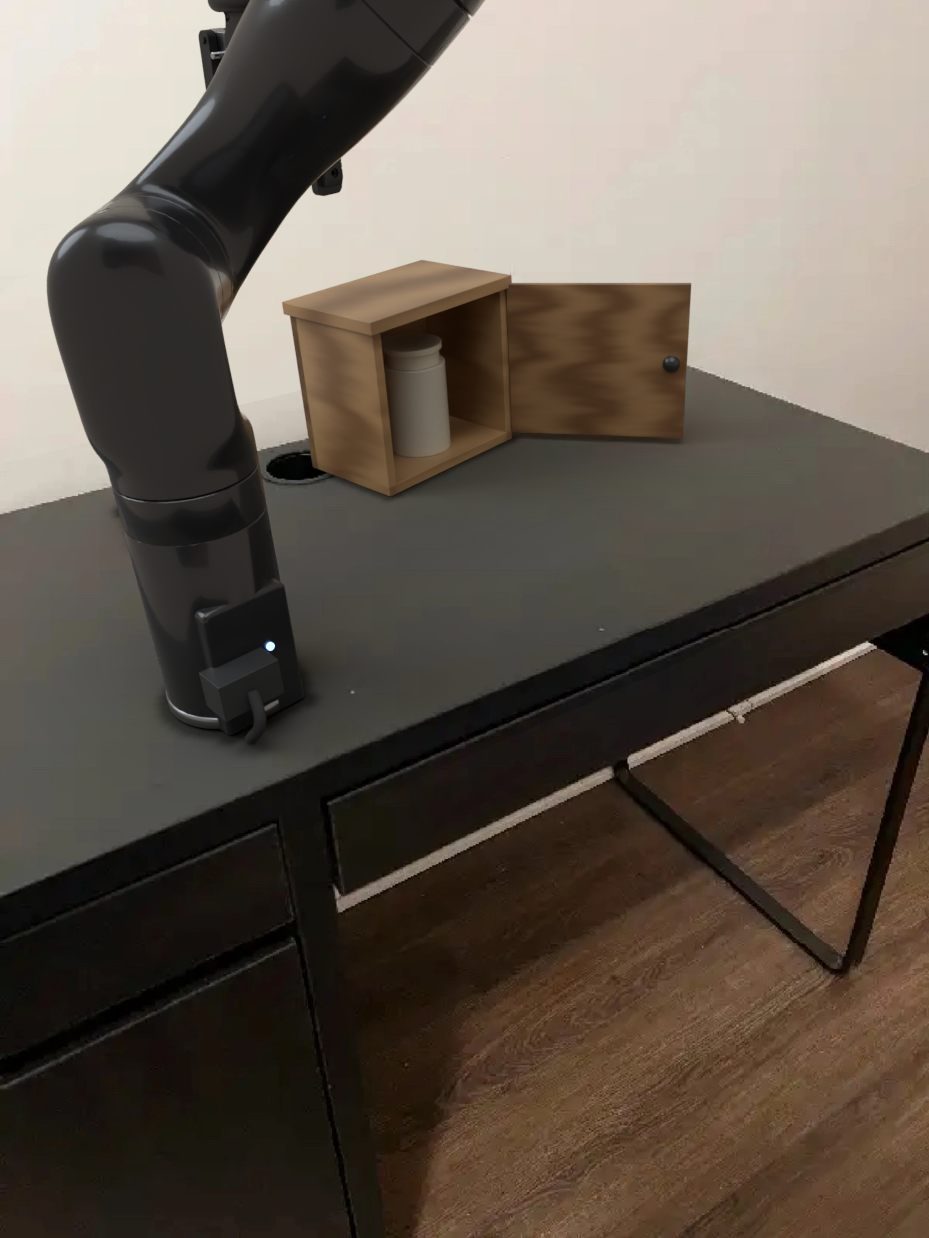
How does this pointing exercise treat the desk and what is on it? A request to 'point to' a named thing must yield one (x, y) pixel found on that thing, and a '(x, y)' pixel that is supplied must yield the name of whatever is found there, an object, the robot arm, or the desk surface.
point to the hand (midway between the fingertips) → (290, 189)
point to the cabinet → (487, 363)
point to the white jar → (416, 394)
